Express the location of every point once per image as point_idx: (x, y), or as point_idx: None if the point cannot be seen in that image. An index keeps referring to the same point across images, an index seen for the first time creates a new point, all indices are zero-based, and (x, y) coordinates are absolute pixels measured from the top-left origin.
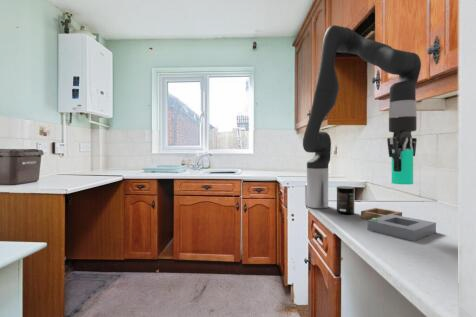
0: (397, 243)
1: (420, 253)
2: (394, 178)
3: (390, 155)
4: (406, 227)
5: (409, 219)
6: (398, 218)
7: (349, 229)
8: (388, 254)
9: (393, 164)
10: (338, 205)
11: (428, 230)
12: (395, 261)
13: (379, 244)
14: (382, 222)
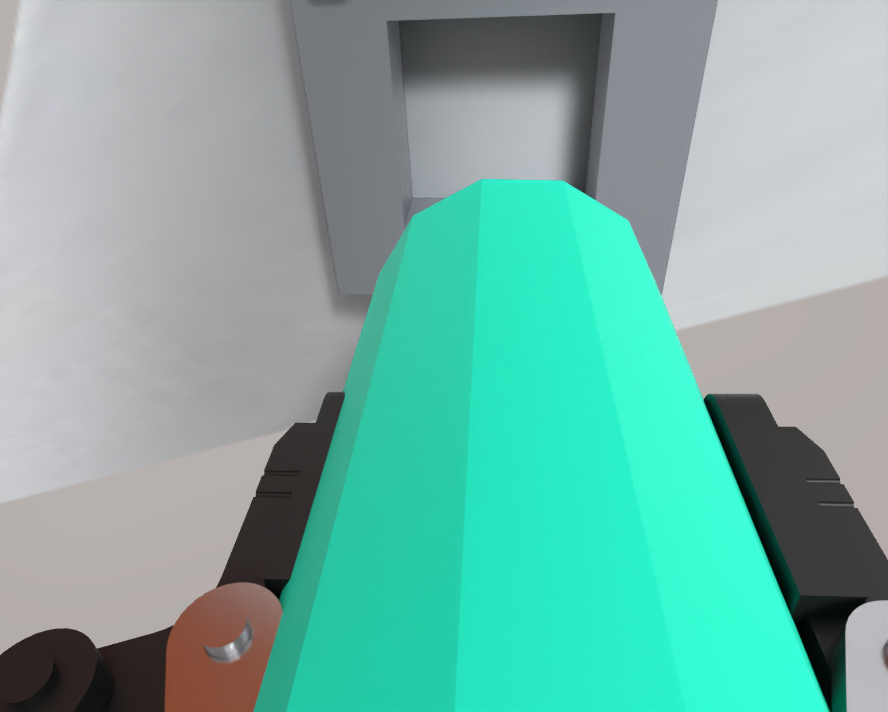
0: (231, 228)
1: (212, 349)
2: (369, 312)
3: (7, 694)
4: (362, 238)
5: (622, 140)
6: (612, 46)
7: None
8: (57, 280)
9: (334, 458)
10: None
11: None
12: (30, 332)
13: (118, 180)
14: (333, 55)
